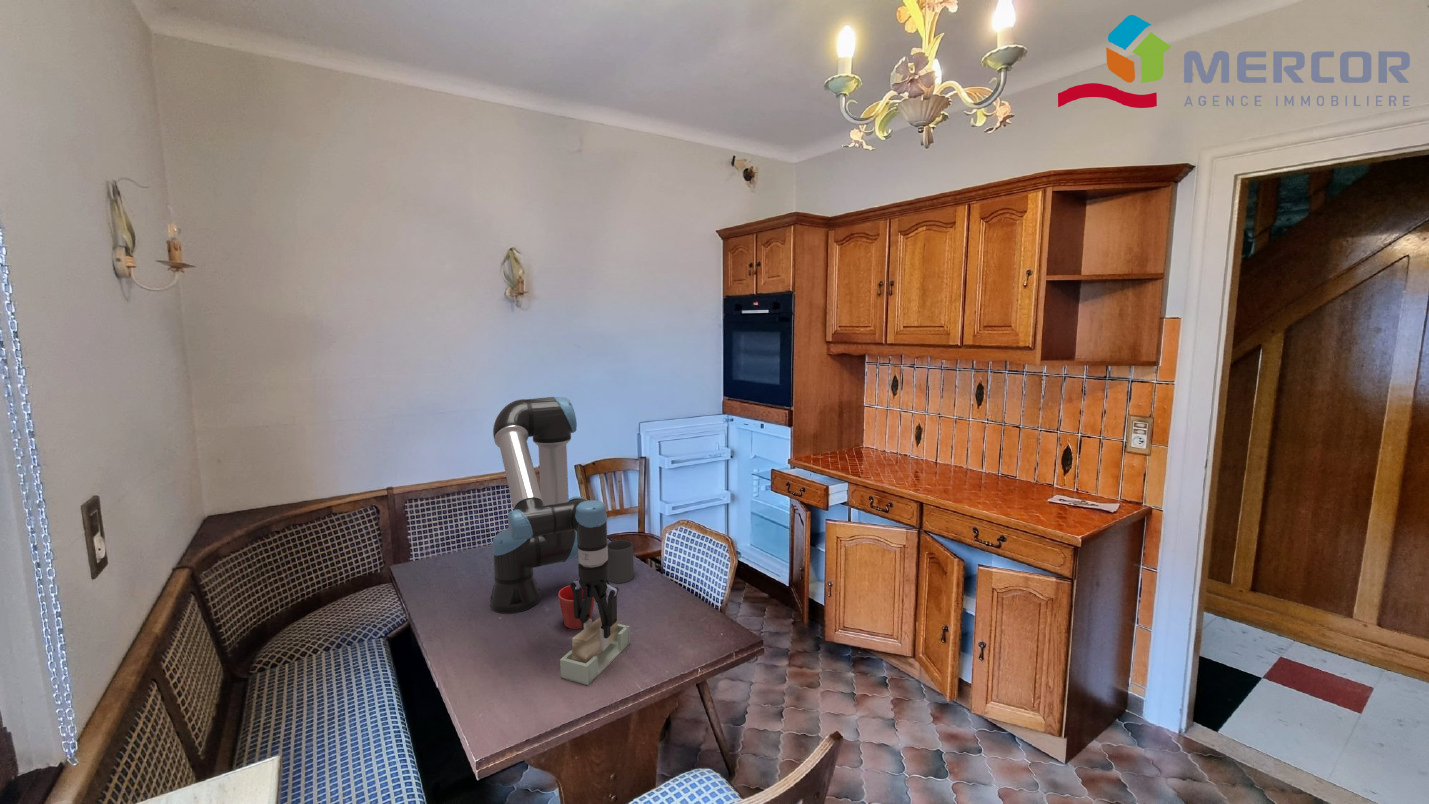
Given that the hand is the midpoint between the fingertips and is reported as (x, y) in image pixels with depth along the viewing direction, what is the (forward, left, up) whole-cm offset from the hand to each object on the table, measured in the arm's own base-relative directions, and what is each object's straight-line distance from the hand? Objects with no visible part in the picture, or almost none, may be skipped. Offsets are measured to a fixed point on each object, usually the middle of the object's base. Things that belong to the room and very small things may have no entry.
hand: (596, 646), depth 151 cm
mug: (-22, +45, -4) cm, 50 cm away
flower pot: (-16, +14, -4) cm, 22 cm away
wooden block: (0, 0, 0) cm, 1 cm away
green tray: (0, 0, -4) cm, 4 cm away
